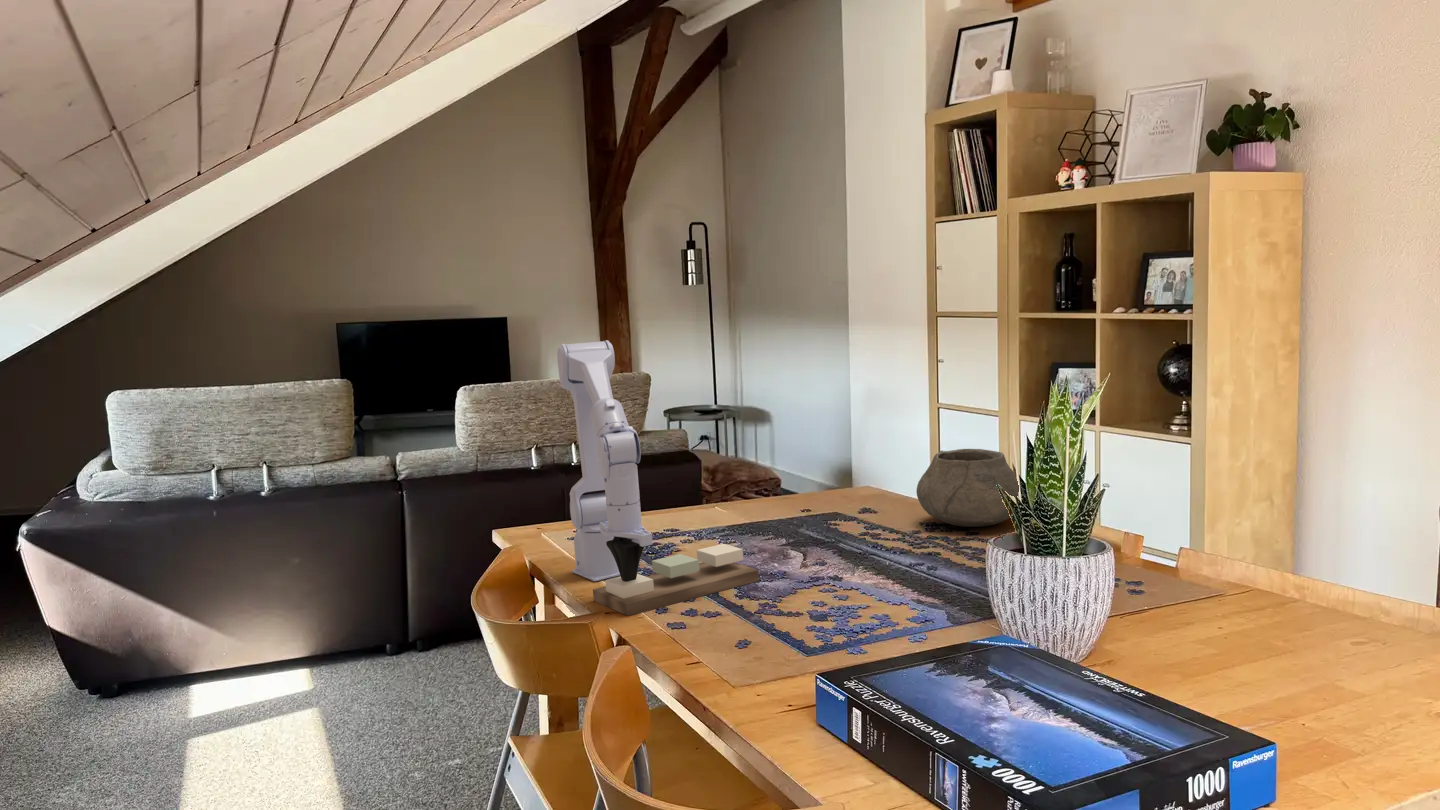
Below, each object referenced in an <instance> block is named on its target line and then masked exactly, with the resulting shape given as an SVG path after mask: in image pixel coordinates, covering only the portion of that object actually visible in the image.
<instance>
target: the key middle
mask: <svg viewBox="0 0 1440 810" xmlns="http://www.w3.org/2000/svg"><path fill="white" fill-rule="evenodd" d="M699 563H700V561H699V560H698V559H697V558H694V557H692V556H688V555H686V554H682V553H679V554H675V555H670V556H665V557H662V558H657V559H654V560H651V567H652V572H653V573H654V574H661V575H663V576H666V577H669V578H674V577H678V576H682V575H686V574H690V573H694V572H698V571H700V568H699Z"/></svg>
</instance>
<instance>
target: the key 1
mask: <svg viewBox="0 0 1440 810" xmlns="http://www.w3.org/2000/svg"><path fill="white" fill-rule="evenodd" d="M604 580H605V583H604V584H605V586H606V592H609V593H611V594H613V595H616V596H618V597H620V598H623V599H624V598H628V597H632V596H636V595H640V594H644V593H648V592H652V591H654V584H653V579H651V578H648V577H646V576H644V575H642V574H639V573H637V577H636V580H632V581H628V582H625V581H622V579H621V576H620V575H619V576H615V577H611V578H607V579H604Z"/></svg>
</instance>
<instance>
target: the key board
mask: <svg viewBox="0 0 1440 810" xmlns="http://www.w3.org/2000/svg"><path fill="white" fill-rule="evenodd" d="M699 568H700V571H698V572H694V573H690V574H686V575H682V576H678V577H674V578H669V577H666V576H663V575H661V574H658V573H653V574H650V575H646V576H645V577H648V578H651V579H653V584H654V591H652V592H648V593H644V594H640V595H636V596H632V597H628V598H624V599H623V598H620V597H618V596H616V595H613V594H611V593H609V592H606V585H605V586H601V587H598V588H593V589H592V596H593V601H594V602H595V603H598V604H600V605H603V606H605V607H607V608H609V609H612V610H613V611H616V612H618V613H621V614H623V615H625V616H628V617H629V616H632V615H637V614H641V613H644V612H647V611H648V612H649V611H651V610H655V609H660V608H662V607H667V606H670V605H674V604H678V603H682V602H686V601H689V600H692V599H696V598H700V597H704V596H708V595H712V594H716V593H719V592H723V591H727V590H730V589H734V588H738V587H741V586H745V585H749V584H752V583H755V582H760V577H759V576H760V575H759V573H760V572H759V569H757V568H753V567H750V566H746V565H745V564H740V563H738V562H733V563H729V564H725V565H721V566H717V567H715V566H712V565H709V564H706V563H703V562H699Z"/></svg>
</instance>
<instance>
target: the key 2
mask: <svg viewBox="0 0 1440 810" xmlns="http://www.w3.org/2000/svg"><path fill="white" fill-rule="evenodd" d="M696 557H697V558H696V559H698V560H699V563H702V562H703V563H706V564H709V565H712V566H715V567H717V566H721V565H725V564H729V563H733V562H734V563H738V562H740V561H744V550H743V548H739V547H737V546H733V545H729V544H726V543H721V544H717V545H712V546H708V547H703V548H700V549H696Z"/></svg>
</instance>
